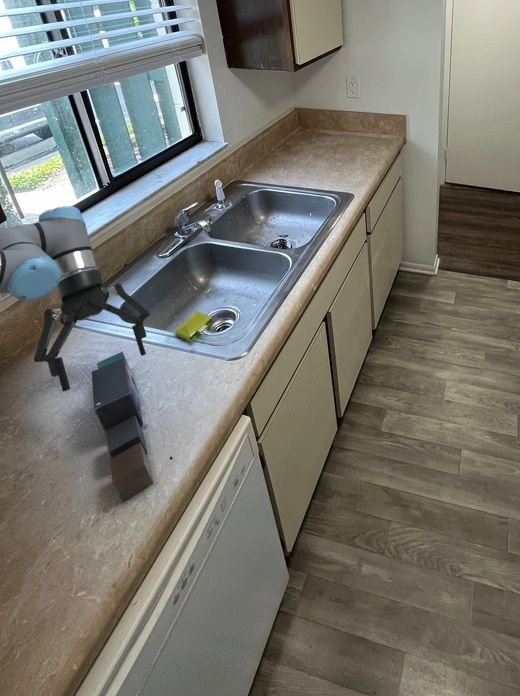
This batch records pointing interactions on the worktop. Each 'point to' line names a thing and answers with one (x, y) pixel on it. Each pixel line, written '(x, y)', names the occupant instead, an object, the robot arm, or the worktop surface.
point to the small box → (115, 394)
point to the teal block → (111, 360)
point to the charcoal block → (125, 437)
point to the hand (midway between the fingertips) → (106, 372)
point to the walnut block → (131, 472)
